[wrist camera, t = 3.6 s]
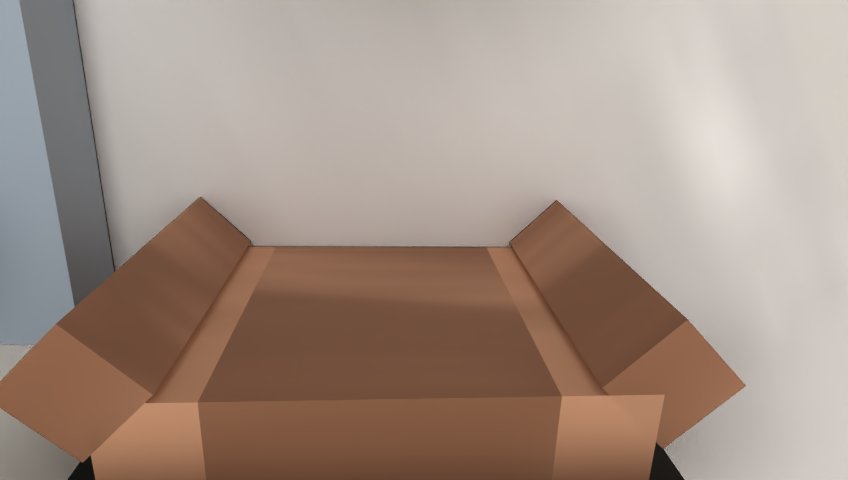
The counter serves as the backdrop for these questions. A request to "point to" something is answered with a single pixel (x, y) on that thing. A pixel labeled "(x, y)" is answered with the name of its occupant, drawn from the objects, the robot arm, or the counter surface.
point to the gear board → (46, 173)
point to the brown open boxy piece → (369, 362)
